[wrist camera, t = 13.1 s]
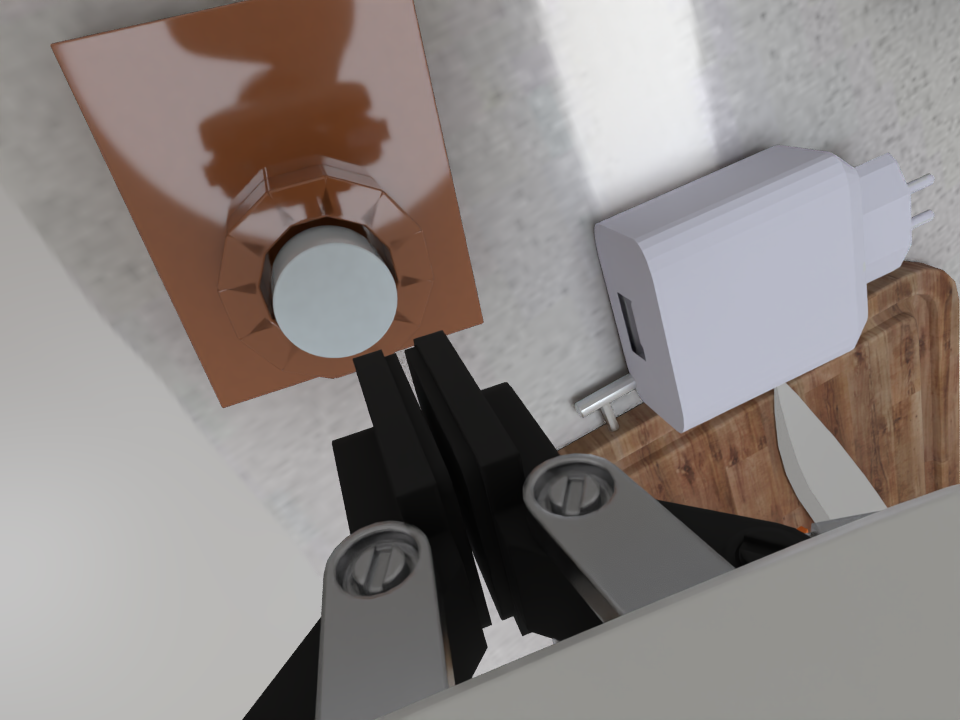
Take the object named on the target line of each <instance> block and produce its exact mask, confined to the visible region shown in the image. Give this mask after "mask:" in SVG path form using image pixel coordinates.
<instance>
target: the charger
mask: <svg viewBox="0 0 960 720" xmlns="http://www.w3.org/2000/svg"><path fill="white" fill-rule="evenodd" d="M933 182H934V176H933V175H932V174H926V175H924V176H922V177H920V178H918V179H915V180H913V181H911V182H909V183H906V181H905V179H904V176H903V174H902V172H901V169H900V167H899V165H898V162H897V161H896V160H895V159H894V158H893V156H892V155H891V154H890V153H889V152H888V153H886V154H884V155H881V156H879V157H877V158H875V159H873V160H870V161H868V162H866V163H864V164H861V165H859V166H857V167H855V168H854V167H852V166H851V165H849V164H848V163H847V162H845V161H844V160H842V159H841V158H839V157H838V156H837V155H835V154H833V153H831V152H827V151H820V150H813V149H805V148H798V147H791V146H784V145H775V146H772V147H770V148H768V149H766V150H763V151H761V152H759V153H756V154H754V155H752V156H750V157H747V158H745V159H743V160H740V161H738V162H736V163H734V164H731V165H729V166H727V167H724V168H722V169H720V170H718V171H715V172H713V173H711V174H708V175H706V176H704V177H702V178H699V179H697V180H695V181H692V182H690V183H688V184H686V185H683V186H681V187H679V188H676V189H674V190H672V191H670V192H667V193H665V194H663V195H660V196H658V197H656V198H654V199H651V200H649V201H647V202H644V203H642V204H640V205H638V206H635V207H633V208H631V209H628V210H626V211H624V212H622V213H619V214H617V215H615V216H612V217H610V218H608V219H606V220H603V221H601V222H599V223H596V224H595V228H594V230H595V241H596V247H597V251H598V256H599V260H600V263H601V267H602V271H603V275H604V279H605V283H606V286H607V290H608V294H609V298H610V302H611V305H612V309H613V313H614V317H615V321H616V324H617V328H618V332H619V336H620V340H621V344H622V347H623V351H624V355H625V359H626V363H627V366H628V370H629V373H630V374H631V375H632V376H633V378H634V380H635V382H636V384H637V388H636V391H637V393H638V395H639V396H640V398H641V399H642V401H643V402H644V403H645V404H647V405H648V406H649V407H650V408H651V409H652V410H653V411H655V412H656V413H657V414H658V415H659V416H660V417H662V418H663V419H664V420H665V421H666V422H667V423H668V424H670V425H671V426H672V427H673V428H674V429H675V430H676V431H678V432H679V433H683V432H685V431H687V430H689V429H691V428H693V427H695V426H697V425H699V424H701V423H704V422H706V421H708V420H710V419H712V418H714V417H716V416H718V415H720V414H722V413H724V412H726V411H728V410H730V409H732V408H734V407H736V406H738V405H741V404H743V403H745V402H747V401H749V400H751V399H753V398H755V397H757V396H759V395H761V394H763V393H765V392H767V391H769V390H771V389H773V388H776V387H778V386H780V385H782V384H784V383H786V382H788V381H790V380H792V379H794V378H796V377H798V376H800V375H802V374H804V373H806V372H808V371H810V370H813V369H815V368H817V367H819V366H821V365H823V364H825V363H827V362H829V361H831V360H833V359H835V358H837V357H839V356H841V355H843V354H845V353H847V352H850V351H851V350H853V349H854V348H855V346H856V344H857V341H858V339H859V337H860V335H861V333H862V330H863V328H864V326H865V324H866V322H867V318H868V301H867V283H869V282H871V281H873V280H875V279H877V278H880V277H882V276H884V275H886V274H888V273H890V272H892V271H894V270H896V269H897V268H899V267H900V266H901V264H902V262H903V260H904V258H905V256H906V254H907V252H908V250H909V249H910V247H911V245H912V229H914V228H916V227H918V226H920V225H922V224H925V223H927V222H929V221H931V220H933V218H934V212H933V211H932V210H927V211H925V212H922V213H920V214H918V215H916V216H914V217H912V218H911V194H912V193H914V192H916V191H919V190H921V189H923V188H925V187H927V186H929V185H931V184H933Z"/></svg>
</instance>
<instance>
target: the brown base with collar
mask: <svg viewBox="0 0 960 720" xmlns="http://www.w3.org/2000/svg"><path fill="white" fill-rule="evenodd" d="M51 48H52V50H53V52H54V55H55V57H56V59H57V61H58V63H59V65H60V67H61V69H62V71H63V74H64V76H65V78H66V80H67V82H68V84H69V86H70V88H71V90H72V92H73V95H74V97H75V99H76V101H77V103H78V105H79V107H80V109H81V111H82V114H83V116H84V118H85V120H86V122H87V124H88V126H89V128H90V130H91V132H92V135H93V137H94V139H95V141H96V143H97V145H98V147H99V149H100V151H101V154H102V156H103V158H104V160H105V162H106V164H107V166H108V168H109V170H110V172H111V175H112V177H113V179H114V181H115V183H116V185H117V187H118V189H119V191H120V194H121V196H122V198H123V200H124V202H125V204H126V206H127V208H128V210H129V213H130V215H131V217H132V219H133V221H134V223H135V225H136V227H137V229H138V231H139V234H140V236H141V238H142V240H143V242H144V244H145V246H146V248H147V250H148V253H149V255H150V257H151V259H152V261H153V263H154V265H155V267H156V269H157V271H158V274H159V276H160V278H161V280H162V282H163V284H164V286H165V288H166V290H167V293H168V295H169V297H170V299H171V301H172V303H173V305H174V307H175V309H176V311H177V314H178V316H179V318H180V320H181V322H182V324H183V326H184V328H185V330H186V333H187V335H188V337H189V339H190V341H191V343H192V345H193V347H194V349H195V351H196V354H197V356H198V358H199V360H200V362H201V364H202V366H203V368H204V370H205V373H206V375H207V377H208V379H209V381H210V383H211V385H212V387H213V389H214V392H215V394H216V396H217V398H218V400H219V402H220V404H221V406H222V408H225V407H228V406H231V405H234V404H238V403H241V402H244V401H247V400H250V399H253V398H256V397H259V396H262V395H265V394H268V393H271V392H274V391H277V390H280V389H283V388H286V387H290V386H293V385H296V384H299V383H302V382H305V381H308V380H311V379H314V378H317V377H325V378H332V379H334V378H339V377H342V376H345V375H348V374H351V373H354V372H356V369H355V366H354V363H353V360H352V359H353V358H356V357H359V356H362V355H365V354H368V353H371V352H375V351H378V350H381V349H382V352H383V354H384V356H388V355H391V354H394V353H395V352H397V351H400V350H403V349H406V348H409V347H412V346H414V342H413V339H415V338H418V337H422V336H425V335H428V334H431V333H434V332H437V331H440V330H443V331H444V333H445V335H448V334H452V333H455V332H458V331H461V330H464V329H467V328H470V327H473V326H476V325H479V324H482V323H483V322H484V321H483V317H482V312H481V308H480V303H479V298H478V294H477V289H476V285H475V280H474V275H473V271H472V266H471V262H470V257H469V253H468V248H467V243H466V239H465V234H464V230H463V225H462V221H461V216H460V211H459V207H458V202H457V198H456V193H455V188H454V184H453V179H452V175H451V170H450V166H449V161H448V156H447V152H446V147H445V143H444V138H443V133H442V129H441V124H440V120H439V115H438V111H437V106H436V101H435V97H434V92H433V88H432V83H431V79H430V74H429V69H428V65H427V60H426V56H425V51H424V46H423V42H422V37H421V33H420V28H419V24H418V19H417V14H416V10H415V5H414V1H413V0H246V1H241V2H237V3H232V4H228V5H223V6H219V7H214V8H209V9H205V10H200V11H196V12H191V13H187V14H182V15H178V16H173V17H169V18H164V19H160V20H155V21H151V22H146V23H142V24H137V25H133V26H128V27H124V28H119V29H115V30H110V31H106V32H101V33H97V34H92V35H88V36H83V37H79V38H74V39H70V40H65V41H61V42H56V43H52V44H51ZM325 225H333V226H341V227H345V228H348V229H351V230H353V231H355V232H358V233H359V234H361V235H362V236H364V237H365V238H366V239H368V240H369V241H370V242H371V243H372V244H373V245H374V247H375V248H376V249H377V251H378V252H379V254H380V255H381V257H382V259H383V260H384V262H385V264H386V266H387V267H388V269H389V271H390V272H391V274H392V276H393V278H394V281H395V284H396V289H397V297H398V301H397V309H396V314H395V317H394V319H393V322H392V324H391V326H390V327H389V329H388V330H387V332H386V333H385V334H384V336H383V337H382V338H381V339H380V340H379V341H378V342H377V343H375V344H374V345H373V346H371V347H370V348H368V349H366V350H365V351H363V352H360V353H358V354H355V355H352V356H348V357H342V358H326V357H320V356H316V355H313V354H310V353H308V352H306V351H303V350H301V349H300V348H298V347H297V346H295V345H294V344H293V343H292V342H291V341H289V339H288V338H287V337H286V336H285V335H284V334H283V332H282V331H281V329H280V327H279V325H278V323H277V321H276V318H275V315H274V310H273V302H272V292H271V270H272V266H273V263H274V260H275V258H276V256H277V254H278V252H279V251H280V249H281V248H282V247H283V246H284V244H285V243H286V242H287V241H289V240H290V239H291V238H292V237H294V236H295V235H296V234H298V233H300V232H302V231H304V230H307V229H309V228H312V227H317V226H325Z"/></svg>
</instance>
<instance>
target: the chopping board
mask: <svg viewBox="0 0 960 720" xmlns="http://www.w3.org/2000/svg"><path fill="white" fill-rule="evenodd" d="M867 301H868V318H867V322H866V324H865V326H864V328H863V330H862V333H861V335H860V337H859V339H858V341H857V344H856V346H855V348H854V349H853V350H851V351H850V352H847V353H845V354H843V355H841V356H839V357H837V358H835V359H833V360H831V361H829V362H827V363H825V364H823V365H821V366H819V367H817V368H815V369H813V370H810V371H808V372H806V373H804V374H802V375H800V376H798V377H796V378H794V379H792V380H790V381H788V382H786V383H784V384H782V385H780V386H778V387H776V388H773V389H771V390H769V391H767V392H765V393H763V394H761V395H759V396H757V397H755V398H753V399H751V400H749V401H747V402H745V403H743V404H741V405H738V406H736V407H734V408H732V409H730V410H728V411H726V412H724V413H722V414H720V415H718V416H716V417H714V418H712V419H710V420H708V421H706V422H704V423H701V424H699V425H697V426H695V427H693V428H691V429H689V430H687V431H685V432H683V433H679V432H678V431H676V430H675V429H674V428H673V427H672V426H671V425H670V424H668V423H667V422H666V421H665V420H664V419H663V418H662V417H660V416H659V415H658V414H657V413H656V412H655V411H653V410H652V409H651V408H650V407H649V406H648V405H647V404H645V403H642V404H641V405H639V406H637V407H635V408H633V409H632V410H630V411H628V412H626V413H624V414H623V415H621V416H619V417H617V418H616V417H615V414H614V412H613V409H612V406H611V404H610V403H611V402H613V401H614V400H616V399H618V398H620V397H622V396H623V395H625V394H627V393H629V392H631V391H632V390H634V389H636V388H637V384H636V382H635V380H634V378H633V376H632V375H631V374H630V373H628V374H627V375H625V376H623V377H621V378H620V379H618V380H616V381H614V382H612V383H611V384H609V385H607V386H605V387H603V388H602V389H600V390H598V391H596V392H594V393H593V394H591V395H589V396H587V397H585V398H584V399H582V400H580V401H578V402H576V403H575V408H576V410H577V412H578V414H579V415H580V416H581V417H582V418H584V417H586V416H588V415H589V414H591V413H593V412H595V411H596V410H598V409H600V408H601V410H602V413H603V416H604V418H605V421H606V423H607V424H605V425H603V426H601V427H599V428H598V429H596V430H594V431H592V432H591V433H589V434H587V435H585V436H583V437H582V438H580V439H578V440H576V441H575V442H573V443H571V444H569V445H567V446H566V447H564V448H562V449H560V450H558V453H559V454H560V455H566V454H574V453H580V454H592V455H595V456H599V457H602V458H605V459H607V460H608V461H610V462H611V463H613V464H615V465H616V466H617V467H618V468H620V469H621V470H622V471H623V472H624V473H625V474H627V475H628V476H629V477H630V478H631V479H632V480H634V481H635V482H636V483H637V484H638V485H639V486H641V487H642V488H643V489H644V490H645V491H646V492H648V493H649V494H650V495H651V496H652V497H653V498H654V499H657V500H662V501H667V502H672V503H677V504H683V505H688V506H693V507H698V508H703V509H708V510H714V511H719V512H724V513H729V514H734V515H740V516H745V517H750V518H755V519H760V520H766V521H771V522H776V523H780V524H783V525H786V526H790V527H793V528H796V529H798V530H799V531H801V532H803V533H809V532H811V523H816V522H822V521H827V520H833V519H838V518H843V517H849V516H854V515H860V514H865V513H870V512H876V511H881V510H884V509H886V508H889V507H891V506H894V505H897V504H900V503H903V502H906V501H909V500H912V499H915V498H918V497H920V496H923V495H926V494H929V493H932V492H934V491H937V490H940V489H943V488H946V487H949V486H953V485H957V484H960V404H959V296H958V292H957V288H956V283H955V281H954V280H953V279H952V278H951V277H950V276H949V275H948V274H947V273H946V272H945V271H943V270H941V269H938V268H935V267H932V266H929V265H926V264H924V263H918V262H910V261H903V262H902V264H901V266H900V267H899V268H897V269H896V270H894V271H892V272H890V273H888V274H886V275H884V276H882V277H880V278H877V279H875V280H873V281H871V282H869V283H867Z"/></svg>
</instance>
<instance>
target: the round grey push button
mask: <svg viewBox="0 0 960 720" xmlns="http://www.w3.org/2000/svg"><path fill="white" fill-rule="evenodd" d="M271 292H272V302H273V310H274V315H275V318H276V321H277V323H278V325H279V327H280V329H281V331H282V332H283V334H284V335H285V336H286V337H287V338H288V339H289V341H291V342H292V343H293V344H294V345H295V346H297V347H298V348H300V349H301V350H303V351H306V352H308V353H310V354H313V355H316V356H320V357H326V358H342V357H348V356H352V355H355V354H358V353H360V352H363V351H365V350H366V349H368V348H370V347H371V346H373V345H374V344H375V343H377V342H378V341H379V340H380V339H381V338H382V337H383V336H384V334H385V333H386V332H387V330H388V329H389V327H390V326H391V324H392V322H393V319H394V317H395V314H396V309H397V301H398V297H397V289H396V284H395V281H394V278H393V276H392V274H391V272H390V271H389V269H388V267H387V266H386V264H385V262H384V260H383V259H382V257H381V255H380V254H379V252H378V251H377V249H376V248H375V247H374V245H373V244H372V243H371V242H370V241H369V240H368V239H366V238H365V237H364V236H362V235H361V234H359V233H358V232H355V231H353V230H351V229H348V228H345V227H341V226H333V225H325V226H317V227H312V228H309V229H307V230H304V231H302V232H300V233H298V234H296V235H295V236H294V237H292V238H291V239H290V240H289V241H287V242H286V243H285V244H284V246H283V247H282V248H281V249H280V251H279V252H278V254H277V256H276V258H275V260H274V263H273V266H272V270H271Z"/></svg>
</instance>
